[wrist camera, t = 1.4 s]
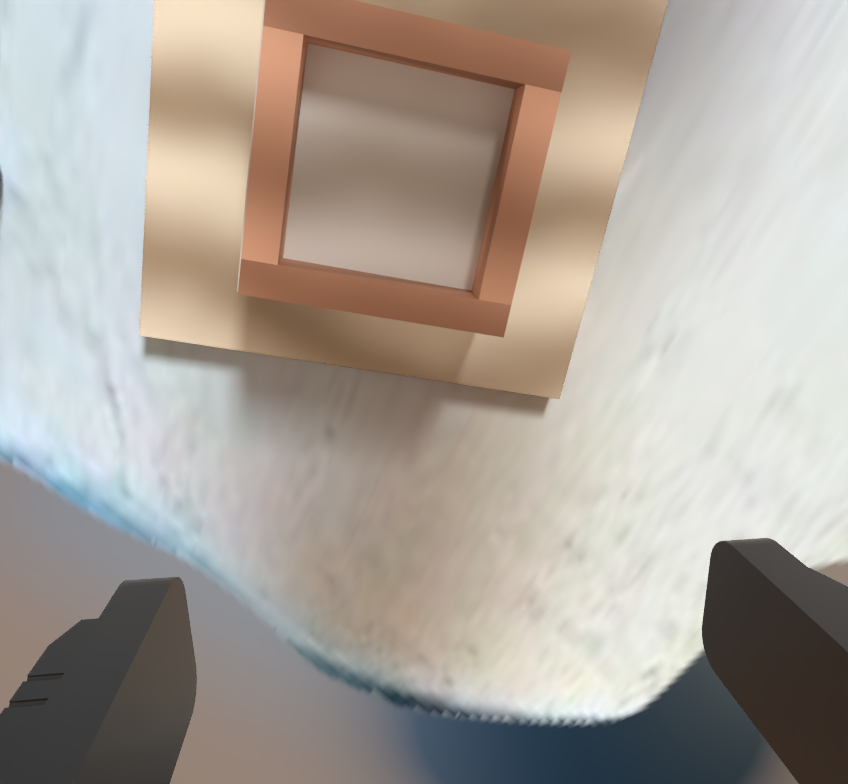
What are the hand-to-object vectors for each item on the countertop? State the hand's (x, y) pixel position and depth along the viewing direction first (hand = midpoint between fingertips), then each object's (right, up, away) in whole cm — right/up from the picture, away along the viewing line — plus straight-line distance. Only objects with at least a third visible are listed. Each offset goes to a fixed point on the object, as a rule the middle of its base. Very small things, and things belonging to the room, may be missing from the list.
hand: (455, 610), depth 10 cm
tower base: (-2, +13, +18) cm, 22 cm away
